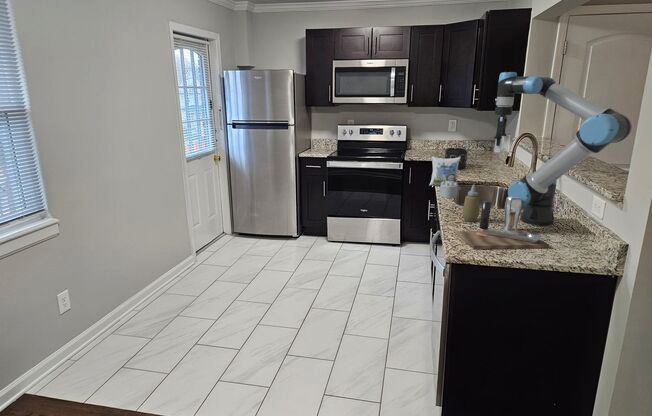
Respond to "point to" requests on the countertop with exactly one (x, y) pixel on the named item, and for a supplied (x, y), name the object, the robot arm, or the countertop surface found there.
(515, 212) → the beer glass
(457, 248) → the countertop surface
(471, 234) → the lever board
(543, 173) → the robot arm
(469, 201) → the squeeze bottle
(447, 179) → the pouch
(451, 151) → the dark rounded-top box
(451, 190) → the lumpy-topped squat cylinder
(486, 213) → the lever
